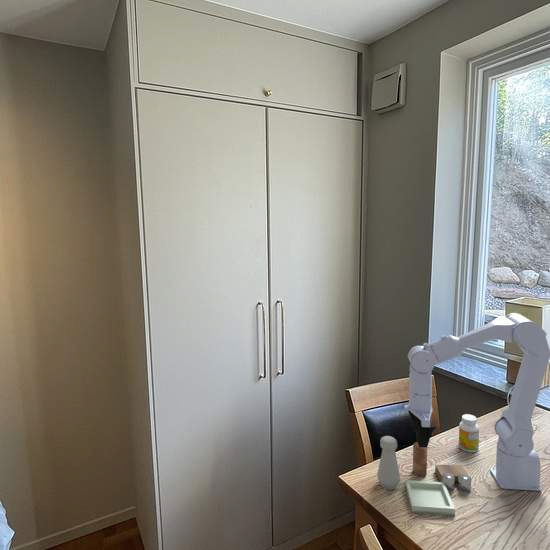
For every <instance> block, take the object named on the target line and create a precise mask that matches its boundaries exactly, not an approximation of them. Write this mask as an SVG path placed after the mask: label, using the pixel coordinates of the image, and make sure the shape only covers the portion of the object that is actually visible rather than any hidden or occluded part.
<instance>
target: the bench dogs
mask: <svg viewBox="0 0 550 550" xmlns="http://www.w3.org/2000/svg"><path fill="white" fill-rule="evenodd" d="M468 475H469V474H468ZM468 475H466V474H460V475H458V484H457V488H458V489H459V491H461V492H463V493H470V492H471V491H472V477H471V476H470V475H469V476H468ZM442 482H444V483H445V486H446V488H447V491H448V492H453V491H454V490H455V485H456V484H455V477H454V476H453V475H452V474H449V473H444V474H442Z"/></svg>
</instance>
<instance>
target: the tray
mask: <svg viewBox="0 0 550 550" xmlns="http://www.w3.org/2000/svg"><path fill="white" fill-rule="evenodd" d="M404 482H405V484H404V485H405V490H406V494H407V498H408V502H409V506H410V508H411V513H412V514H422V515H437V516H450V517H451V516H452V517H455V516H456V508H455V506H454V503H453V500H452V498H451V495H450V493H449V491H447V488H446V486H445V483H444V482H441V481H425V480H424V481H423V480H412V479H411V480H409V479H408V480H407V479H405V481H404Z"/></svg>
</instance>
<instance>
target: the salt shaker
mask: <svg viewBox="0 0 550 550" xmlns="http://www.w3.org/2000/svg"><path fill="white" fill-rule="evenodd" d="M379 441H380V442H379V443H380V444H379V445H380V446H379V447H380V448H381V454H380V455H381V456H380V460H379V463H378V464H379V465H378V469H377V474H376V475H377V480H378V483H379V484H380V486H381V487H382V488H383V489H385V490H390V491H393V490H395V489H396V488H397V487H398V486H399V484H400V482H401V475H400V470H399V466H398V460H397V459H398V458H397V454H396V450H397V449H398V441H397V439H395V437H393V436H390V435H384V436H382V437H381V438H380V440H379Z"/></svg>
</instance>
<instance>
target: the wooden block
mask: <svg viewBox="0 0 550 550" xmlns="http://www.w3.org/2000/svg"><path fill="white" fill-rule="evenodd" d="M434 472H435V474H436V476H437V477H438V478H437V479H438V480H439V482H442V474H444V473H449V474H452V475H453V476H454V477H455V485H456V484H457V485H458V475H460V474H466V475H468V476H470V475H469V473H468V472H467V470H466V469H465V468H464V466H463V465H462V464H435V466H434Z"/></svg>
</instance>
